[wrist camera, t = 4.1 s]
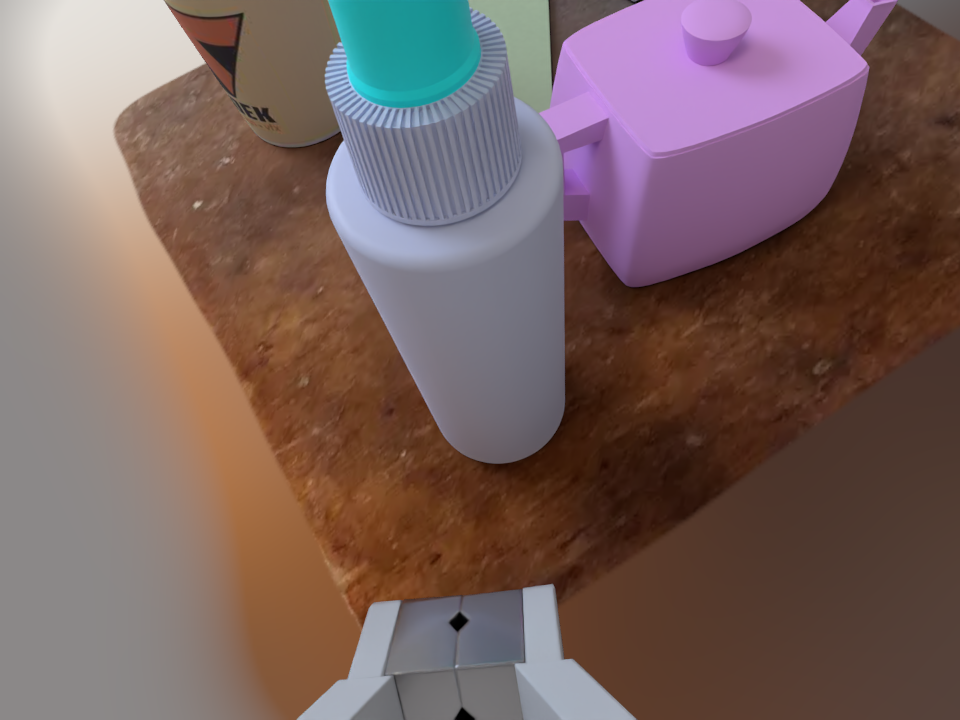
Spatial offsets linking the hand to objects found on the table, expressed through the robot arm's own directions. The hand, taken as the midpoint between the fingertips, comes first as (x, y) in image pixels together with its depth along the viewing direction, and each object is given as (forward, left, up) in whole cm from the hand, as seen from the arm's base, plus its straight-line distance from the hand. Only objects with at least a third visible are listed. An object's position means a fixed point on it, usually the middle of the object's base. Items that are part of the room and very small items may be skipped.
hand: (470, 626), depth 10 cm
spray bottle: (-1, +11, -16) cm, 19 cm away
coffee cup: (-14, +32, -16) cm, 38 cm away
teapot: (+9, +23, -16) cm, 29 cm away
